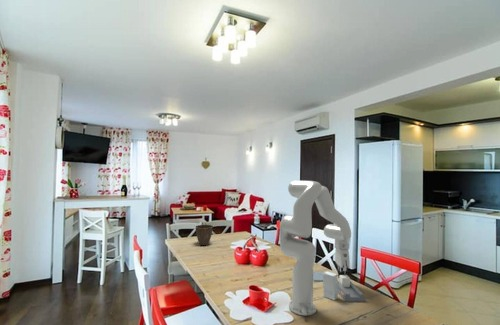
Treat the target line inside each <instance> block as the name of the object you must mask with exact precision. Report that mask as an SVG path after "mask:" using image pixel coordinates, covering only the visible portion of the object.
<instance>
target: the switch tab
mask: <svg viewBox="0 0 500 325" xmlns="http://www.w3.org/2000/svg"><path fill="white" fill-rule="evenodd" d="M338 281H339V282H340V284H341V285H342V286H343V287H350V281H351V278H350V276H348V275H347V274H345V275H339V278H338Z"/></svg>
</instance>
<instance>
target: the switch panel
mask: <svg viewBox="0 0 500 325" xmlns="http://www.w3.org/2000/svg"><path fill="white" fill-rule="evenodd" d="M337 288H338V294H339V295H338V296H340V297H341V298H342V299H343V302H357V303H358V302H361V303H362V302H365V301H366V300H365V294H364V293H363V292H362V291H361V290H360V289H359V288H358V287H357V286H356V285H355V284H354V283H353V282H352V281H351V280H350V287H343V286H342V285H341V284H340V282H339V279H337Z"/></svg>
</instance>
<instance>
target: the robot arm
mask: <svg viewBox="0 0 500 325" xmlns="http://www.w3.org/2000/svg"><path fill="white" fill-rule="evenodd" d="M287 189H288V192H289V195H290V196H291V197H293V198H296V200H295V202H294V203H293V211H292V212H293V214H286V215H283V217H282V218H281V220H280V223H279V246H280V252H281V253H282V254H283V255H284V256H286V257H289V258H291V259H295V260H296V262H295V264H294V265H293V268H292V287H291V288H292V289H291V290H292V293H291V294H292V296H291V298H292V299H291V301H290V302H289V304H288V308H289V310H290V311H291V312H292V313H294V314H295V315H299V316H307V317H308V316H313V315H314V314H316V313H317V306H316V304H314V281H313V272H314V264H315V258H316V253H317V249H316V246H315V245H314V244H313V243H312V242H311V241H309V240H306V239H308V238H310V237H311V235H312V233H313V232H312V231H313V228H312V227H313V226H312V225H313V224H312V223H313V221H312V220H313V219H312V208H313V205H314V203H315V205H316V208H317V210H318V213H319V215H320V216H321V217H322V218H324V219H325V220H326V221H329V222H331V223H330V224H329V223H328V224H326V225H325V226H324V228H323V233H324V235H325V237H327V238H329V239H334V249H335V250H334V251H335V252H334V261H335V263H336V265H337V270H338V271H337V279H339V275H346V272H347V270H348V269H350V266H351V265H350V252H349V249H350V244H349V243H350V242H349V241H350V239H351V237H352V229H351V227H350V223H349V221H348V219H347V218H346V217H345V216H344V215H343V214H342V213H341V212H339V211H338V210H337V209H336V208H335V205H334V202H333V199H332V197H331V194H330V191H329V189H328V188H327V186H325V185H322V184H321V183H320V182H319V181H314V180H302V179H301V180H299V179H298V180H297V179H295V180H291V181H290V182H289V184H288V186H287ZM302 238H303V239H302Z"/></svg>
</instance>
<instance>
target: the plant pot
mask: <svg viewBox="0 0 500 325" xmlns="http://www.w3.org/2000/svg"><path fill="white" fill-rule="evenodd" d="M213 227H214V226H213V225H211V224H199V225H196V226H195V233H196V237H197V242H198V245H199V246H200V245H207V246H208V245H209V244H210V241H211V238H212V235H213V234H212V233H213Z"/></svg>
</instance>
